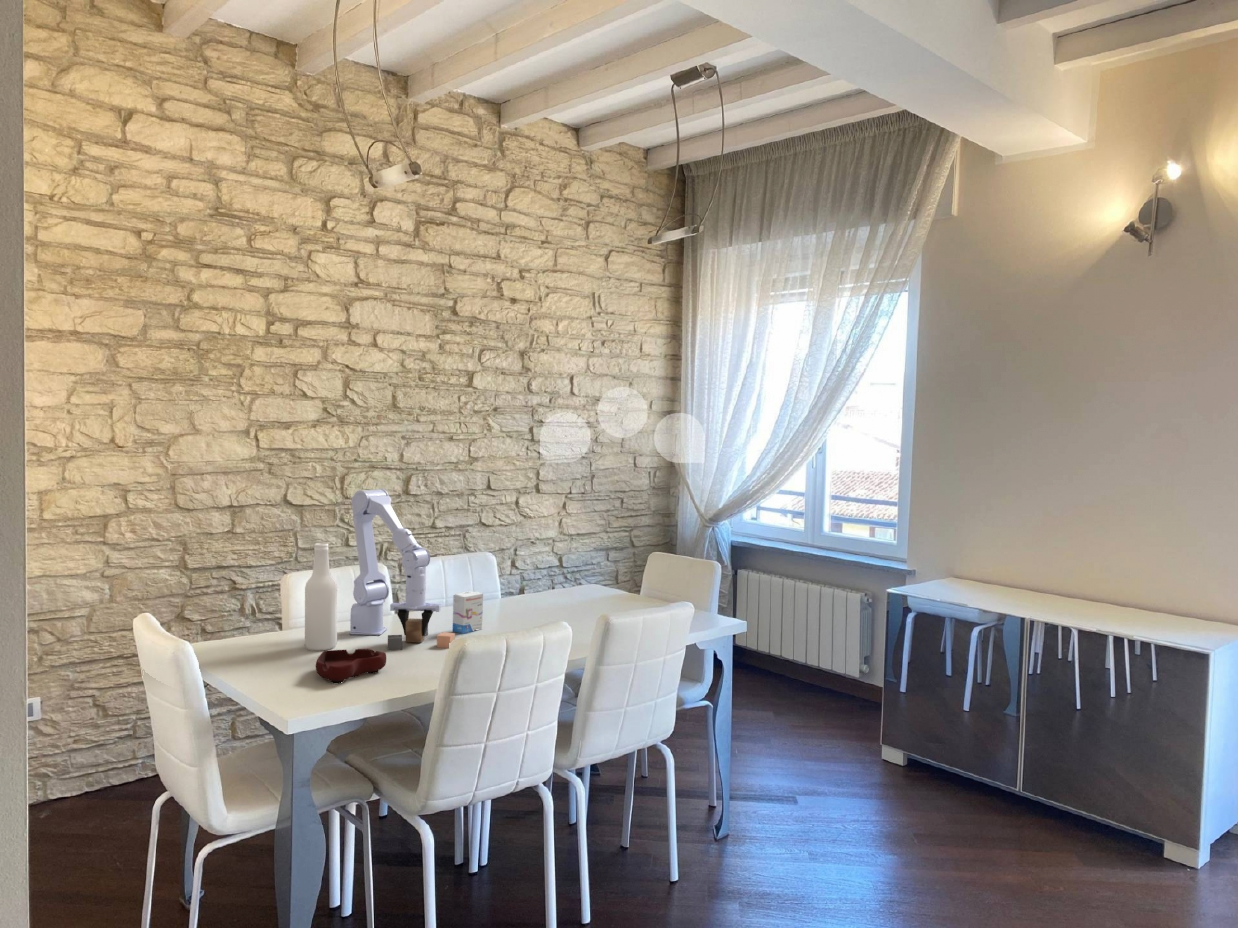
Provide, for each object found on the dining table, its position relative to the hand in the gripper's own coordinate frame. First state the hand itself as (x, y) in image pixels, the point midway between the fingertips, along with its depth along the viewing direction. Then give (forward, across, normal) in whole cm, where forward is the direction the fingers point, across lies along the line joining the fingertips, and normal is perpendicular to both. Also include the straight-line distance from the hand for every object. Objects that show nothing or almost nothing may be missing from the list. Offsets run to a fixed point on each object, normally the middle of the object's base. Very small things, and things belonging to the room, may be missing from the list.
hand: (415, 634), depth 264 cm
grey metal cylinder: (+2, 0, +8) cm, 8 cm away
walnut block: (+2, 0, 0) cm, 2 cm away
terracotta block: (+2, +10, -4) cm, 11 cm away
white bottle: (+2, -25, -9) cm, 27 cm away
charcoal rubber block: (+2, -4, -8) cm, 9 cm away
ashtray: (+2, -10, -34) cm, 35 cm away
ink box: (+2, +13, +15) cm, 20 cm away
